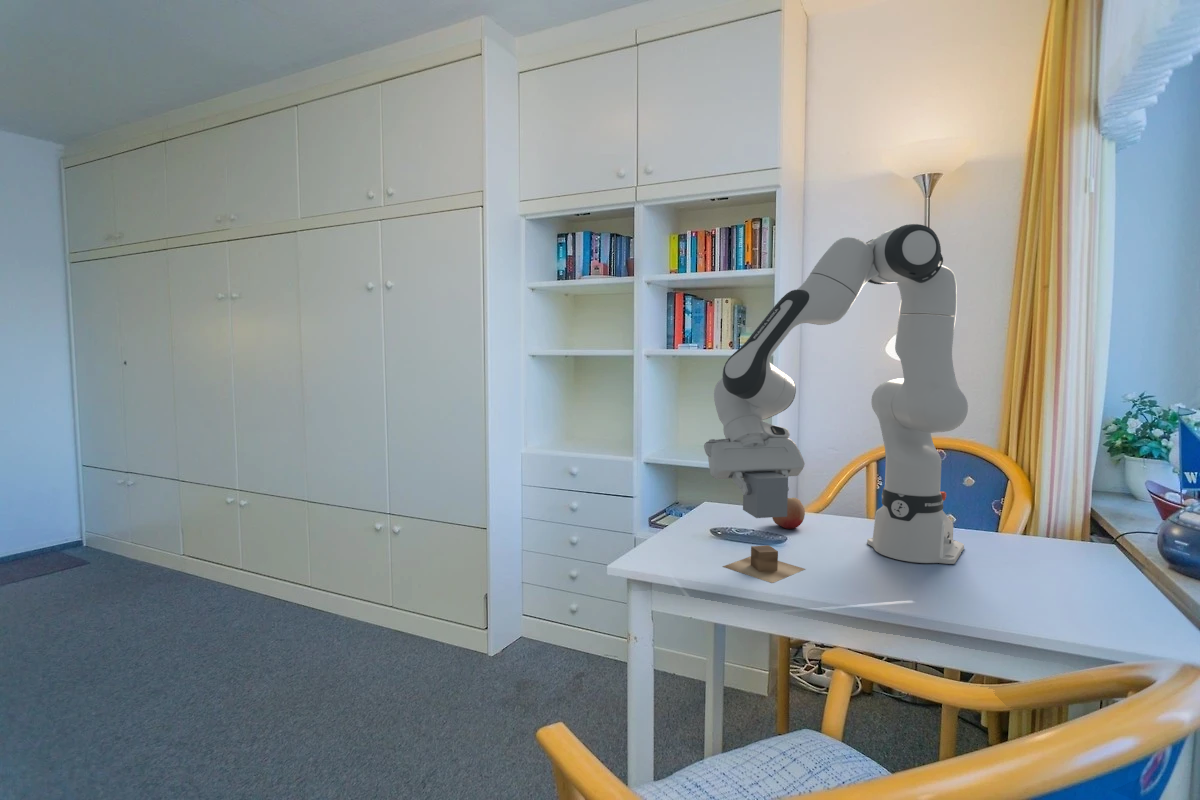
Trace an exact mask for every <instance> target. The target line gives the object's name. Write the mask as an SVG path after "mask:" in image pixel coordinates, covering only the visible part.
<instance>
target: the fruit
mask: <svg viewBox="0 0 1200 800" xmlns="http://www.w3.org/2000/svg"><path fill="white" fill-rule="evenodd" d="M805 515H806V511H805V507H804V505H803V503H802V501H801V500H800V499H798V498H797V497H788V501H787V517H771V519H772V520H773V522H774V524H775V525H776V526H780V527H782V528H783V529H787V530H792V529H793V530H794V529H796V528H798V527H799V526H801V524H803V521H804V520H805Z"/></svg>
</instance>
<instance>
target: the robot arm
mask: <svg viewBox="0 0 1200 800" xmlns="http://www.w3.org/2000/svg"><path fill="white" fill-rule="evenodd" d="M943 262H944V257H943V255H942V248H941V243H940V240H939V238H938V235H937V234H936V232H935V231H934V230H933V229H932V228H930V227H929V226H927V225H924V224H918V223H913V224H911V223H909V224H906V225H905V224H904V225H902V226H899V227H897V228H892V229H890V230H887V231H885V232H883V233H882V234H880V235H879V236H877V237H875V238H872V239H870V240H868V241H866V242H864V240H862V239H859V238H855V237H849V236H848V237H842V238H839V239H838V240H836V241H834V243H833V244H832V245H831V246H830V247H829V248H828V249H827V251H826V252H824V254H823V255H822V256H821V258H820V259H819V260H818V262H817V263H816V264H815V266H814V267H813V269H812V270H811V272H810V273H809V274H808V276H807V278H806V279H805V281H804V282H803V283H802V284H801V285H800V286H799V287H798V288H797V289H793V290H790V291H789V292H787V293H786V294H785V295H783V296H782V297H781V298H780V299H779V301H777V303H776V304H774V306H773V308H772V309H771V310H770V311H769V313H768V314H767V315H766V316H765V318H764V319H762V321H761V323H760V324H759V325H758V326H757V328H756V329H755V330H754V331H753V332H752V333H751V335H750V336H749V337H748V338H747V339H746V341H745V342H744V343H743V344H742V345H741V347H739V348H738V349H737V350H736V351H735V352H733V353H732V355H731V356H729V358H728V359H727V360H726V362H725V364H724V366H723V368H722V370H723V371H722V378H720V379H719V381H718V382H717V383H716V385H715V387H714V391H713V400H714V401H713V402H714V405H715V410H716V412H717V413H716V414H717V416H718V419H719V421H720V423H721V424H722V425H723V429H722V430H723V434H724V438H717V439H715V438H711V439H709V440H708V441H706V442H705V443H704V445H703V449H704V453H705V454H706V456H707V457H708V467H709V472H710V475H711V477H712V478H714V479H715V480H732V482H733V484H735V485H736V486H737V488H739V489H740V490H741V494H742V496H743V495H751V493H752V488H751V485H750V484H746V483H745V482H744V480H743V479H744V472H764V471H774V472H776V473H779V474H781V475H783V476H786V477H788V478H789V477H798V476H800V474H801V473H802V472H803V470H804V467H805V466H806V465H805V464H806V463H805V460H804V458H803V456H802V454H801V452H800V449H799V448H798V446H797V444H796V442H794V441H793V440H792V439H791V438H790V436H791V434H790V431H789V429H787V428H786V427H783V426H782V427H781V426H779V425H774V424H771V423H768V422H765V420H767V419H770V418H772V417H774V416H777V415H778V414H780V413H782V412H784V411H785V410H787V409H788V408H789V407H790V406H791V405H792V404H793V402H794V399H795V398H796V393H797V388H796V383H795V381H794V379H793V378H792V377H790V376H789V375H787V374H786V373H785V372H784V371H782V370H781V369H780V368H778V367H776V366H775V365H773V363H772V362H771V357H772V355H773V354H774V352H775V351H776V350H777V349H778V348H779V346H780V345H781V344H782V342H783V341H784V340H785V339H786V337H787V336H788V335H789V334H790V332H791V331H792V330H793V329H794V328H795V327H797V326H798V325H801V324H811V325H817V326H826V325H831V324H835V323H836V322H839V321H840V320H841V319H843V317H845V315H846V314H847V313H848V312H849V310H850V309H851V307H852V306H853V304H854V302H855V300H856V299H857V298H858V296H859V294H860V292H861V291H862V289H863V287H864V286H865V285H866V284H867V283H870V284H872V285H873V284H874V285H888V284H895V283H896V285H897V288H898V289H899V294H900V304H899V310H898V318H897V319H898V320H897V328H896V334H895V335H896V336H895V345H894V349H895V354H896V355H897V357H898V358H899V360H900V363H901V368H902V373H903V374H902V376H903V377H902V378H901V377H900V378H895V379H890V380H888V381H884V382H882V383H880V384H879V385H878V386H877V387H876V388H875V389H874V391H873V393H872V396H871V402H870V403H871V407H872V410H873V412H874V414H875V415H876V417H877V419H878V422H879V425H880V430H881V436H882V440H883V445H884V451H885V452H884V453H885V468H884V469H885V472H884V473H885V474H884V487H882V493H881V504H882V506H881V507H880V508H878V509H877V510H876V512H875V517H874V525H873V533H872V537H871V538H870V537H869V538H867V541H866V544H867V545H868V546H871V547H872V548H873V549H874V551H875V552H877V553H878V554H880V555H882V556H885V557H888V558H891V559H895V560H899V561H904V562H909V563H920V564H938V563H939V564H947V565H948V564H949V565H953V564H956V563H957V561H958V559H959V557H961V554H962V553H963V551H964V549H965V544H964V543H962V542H960V541H959V540H954V523H953V522H952V520H951V519H950V518H949V517H948V516H947V513H946V512H944V511H943V509H944V502H945V501H946V498H947V492H946V491H941V484H942V483H941V482H942V479H941V478H942V462H943V461H942V457H941V455H940V453H939V451H938V450H937V449H936V446H935V444H934V441H933V437H932V434H937V433H944V432H952V431H953V430H955V429H957V428H958V427H960V426H961V425H962V424H963V423H964V421H966V418H967V415H968V411H969V405H968V400H967V397H966V395H965V394H964V392H962V390H961V389H960V387H959V385H958V382H957V379H956V378H957V377H956V373H955V367H954V361H953V344H954V333H955V327H956V326H955V325H956V317H957V308H958V307H957V305H958V300H957V299H958V296H957V293H958V291H957V280H956V275H955V272H953V270H952V269H950V268H948V267H947V266H945V265H943V264H944V263H943ZM789 490H790V488H789V486H788V492H789ZM961 552H962V553H961Z"/></svg>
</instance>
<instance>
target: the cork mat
mask: <svg viewBox="0 0 1200 800" xmlns="http://www.w3.org/2000/svg"><path fill="white" fill-rule="evenodd" d="M722 568H725V569H728V570H731V571H734V572H736V573H740V574H743V575H746V576H750V577H752V578H755V579H758V580H761V581H764V582H767V583H771V584H774V583H776V582H779V581H781V580H784V579H786V578H788V577H791V576H793V575H795V574H797V573H800V572H803V571H806V568H803V567H800V566H797V565H794V564H791V563H787V562H783V561H780V560H778V568H777V571H763V572H759V571H758V570H756V569H755V568H754V567H753V566H751V555H750V556H748V557H745V558H743V559H740V560H737V561H734V562H732V563H728V564H726V565H723V566H722Z"/></svg>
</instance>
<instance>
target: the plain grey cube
mask: <svg viewBox="0 0 1200 800" xmlns="http://www.w3.org/2000/svg"><path fill="white" fill-rule="evenodd" d="M742 479H743V480H744V482H745V483H746V484H750V485H751V488H752V493H751V495H743V494H742V510H743V511H744V512H745V513H747V514H749V515H750V516H752V517H753V518H756V519H766V518H767V519H768V518H772V517H787V501H788V498H789V497H788V496H789V495H788V494H789V491H788V487H789V477H786V476H783V475H781V474H779V473H776V472H774V471H764V472H744V478H742Z"/></svg>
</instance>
